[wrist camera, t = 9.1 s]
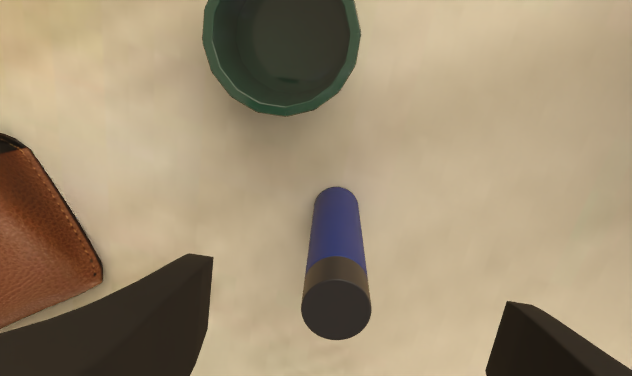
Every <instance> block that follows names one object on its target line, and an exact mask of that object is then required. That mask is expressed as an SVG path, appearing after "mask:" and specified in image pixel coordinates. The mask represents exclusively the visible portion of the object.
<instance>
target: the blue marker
mask: <svg viewBox="0 0 632 376" xmlns="http://www.w3.org/2000/svg"><path fill="white" fill-rule="evenodd" d="M301 313H302V317H303V320H304V322H305V323H306V325H307V326H308V328H309V329H310V330H311V331H312V332H314V333H315V334H317V335H318V336H320V337H323V338H326V339H330V340H343V339H348V338H351V337H353V336H355V335H357V334H358V333H360V332H361V331H362V330H363V329H364V328H365V326H366V325H367V323H368V322H369V319H370V316H371V300H370V293H369V285H368V277H367V270H366V262H365V254H364V247H363V239H362V231H361V224H360V216H359V208H358V202H357V200H356V198H355V196H354V195H353V194H352V193H351V192H350V191H348V190H347V189H344V188H341V187H331V188H328V189H326V190H324V191H322V192H321V193H320V194H319V195H318V197H317V198H316V201H315V204H314V211H313V219H312V227H311V235H310V242H309V250H308V258H307V265H306V273H305V281H304V289H303V296H302V304H301Z"/></svg>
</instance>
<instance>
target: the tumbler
mask: <svg viewBox="0 0 632 376" xmlns="http://www.w3.org/2000/svg"><path fill="white" fill-rule="evenodd" d="M360 37H361V29H360V25H359V20H358V15H357V10H356V6H355V1H354V0H208V2H207V4H206V6H205V9H204V21H203V35H202V41H203V46H204V49H205V52H206V55H207V59H208V62H209V65H210V68H211V71H212V73H213V74H214V76H215V77H216V78H217V80H218V81H219V82H220V83H221V85H222V86H223V87H224V89H225V90H226V91H227V92H228V94H229V95H230V96H231V97H232V98H234V99H236V100H237V101H239V102H241V103H242V104H244V105H246V106H247V107H249V108H251V109H252V110H254V111H256V112H258V113H265V114H271V115H278V116H284V117H286V116H287V117H288V116H292V115H296V114H300V113H304V112H308V111H312V110H315V109H317V108H318V107H320V106H321V105H322V104H324V103H325V102H326V101H328V100H329V99H330V98H332V97H333V96H334V95H336V94H337V93H338V92H339V91H340V90H341V88H342V87H343V85H344V84H345V82H346V80H347V79H348V77H349V75H350V74H351V72H352V70H353V69H354V67H355V64H356V61H357V55H358V49H359V43H360Z"/></svg>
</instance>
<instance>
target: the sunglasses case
mask: <svg viewBox="0 0 632 376" xmlns="http://www.w3.org/2000/svg"><path fill="white" fill-rule="evenodd" d="M102 281H103V268H102V264H101V261H100V259H99V258H98V256H97V254H96V252H95V251H94V249H93V247H92V245H91V243H90V241H89V239H88V238H87V236H86V234H85V232H84V230H83V229H82V227H81V225H80V224H79V222H78V221H77V219H76V217H75V216H74V214H73V213H72V211H71V209H70V208H69V206H68V205H67V203H66V202H65V200H64V199H63V197H62V196H61V194H60V193H59V191H58V190H57V188H56V187H55V185H54V183H53V182H52V180H51V179H50V177H49V176H48V174H47V173H46V172H45V170H44V169H43V167H42V165H41V164H40V163H39V161H38V160H37V159H36V157H35V156H34V154H33V153H32V151H31V150H30V149H29V148H28V147H26V146H25V145H23V144H22V143H21V142H19V141H18V140H17V139H15V138H13V137H10V136H8V135H6V134H2V133H0V329H1V328H3V327H5V326H7V325H9V324H11V323H13V322H16V321H18V320H20V319H22V318H25V317H27V316H30V315H32V314H34V313H36V312H39V311H41V310H43V309H45V308H47V307H50V306H53V305H56V304H57V303H60V302H63V301H65V300H68V299H69V298H72V297H74V296H77V295H79V294H81V293H84V292H86V291H87V290H89V289H91V288H93V287H94V286H96V285H98V284H101V283H102Z"/></svg>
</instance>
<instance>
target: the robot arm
mask: <svg viewBox="0 0 632 376" xmlns="http://www.w3.org/2000/svg"><path fill="white" fill-rule="evenodd" d="M212 269H213V257H209V256H203V255H196V254H186V255H184V256H182V257H180V258H178V259H177V260H175V261H173V262H171V263H169V264H168V265H166V266H164V267H162V268H161V269H159V270H157V271H155V272H153V273H151V274H150V275H148V276H146V277H144V278H142V279H140V280H139V281H137V282H135V283H133V284H131V285H129V286H127V287H125V288H123V289H120V290H118V291H116V292H114V293H112V294H110V295H108V296H106V297H104V298H102V299H100V300H97V301H95V302H93V303H90V304H88V305H86V306H83V307H81V308H78V309H76V310H73V311H70V312H67V313H65V314H62V315H59V316H57V317H54V318H51V319H48V320H45V321H42V322H38V323H35V324H31V325H28V326H25V327H21V328H18V329H14V330H11V331H8V332H4V333H1V334H0V376H190V374H191V372H192V370H193V368H194V366H195V364H196V361H197V358H198V355H199V353H200V350H201V347H202V344H203V341H204V338H205V335H206V332H207V329H208V317H209V305H210V293H211V281H212ZM485 371H486V375H487V376H632V370H631V369H629V368H628V367H626V366H625V365H623V364H622V363H620V362H618V361H617V360H615V359H614V358H612V357H611V356H609V355H608V354H606V353H605V352H604V351H602V350H601V349H599V348H598V347H596V346H595V345H593V344H592V343H590V342H589V341H587V340H586V339H585V338H583V337H582V336H580V335H579V334H577V333H576V332H574V331H573V330H571V329H570V328H569V327H567V326H566V325H564V324H563V323H561V322H560V321H558V320H557V319H555V318H554V317H552V316H551V315H549V314H547V313H546V312H544V311H542V310H541V309H539V308H537V307H535V306H533V305H530V304H523V303H516V302H510V301H507V302H506V306H505V309H504V312H503V315H502V319H501V322H500V325H499V328H498V332H497V335H496V338H495V341H494V344H493V348H492V351H491V354H490V357H489V361H488V364H487V367H486V370H485Z"/></svg>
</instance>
